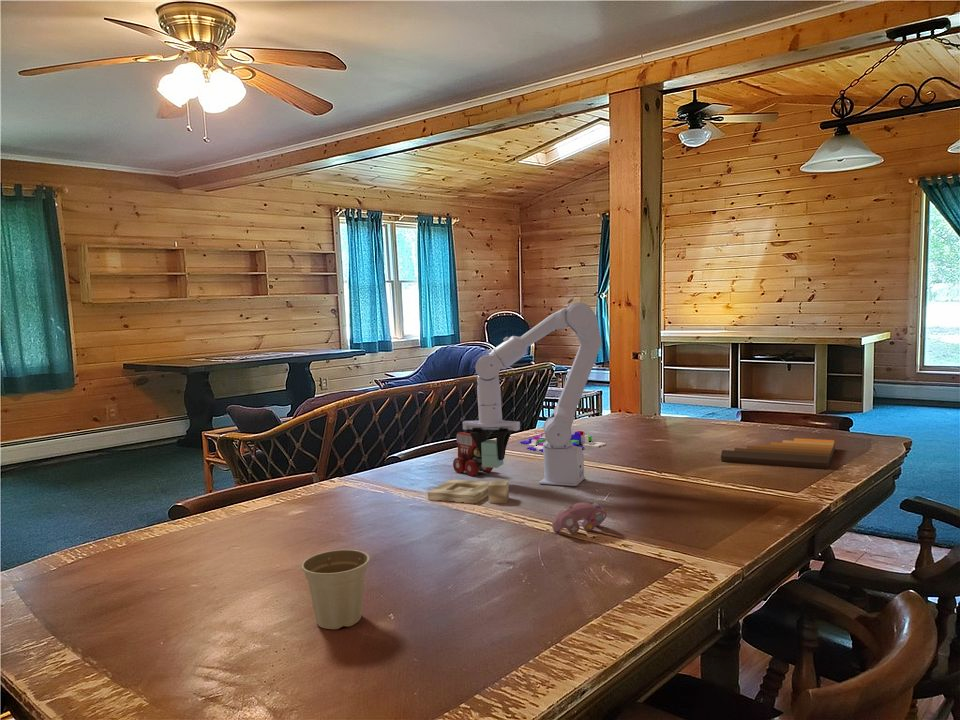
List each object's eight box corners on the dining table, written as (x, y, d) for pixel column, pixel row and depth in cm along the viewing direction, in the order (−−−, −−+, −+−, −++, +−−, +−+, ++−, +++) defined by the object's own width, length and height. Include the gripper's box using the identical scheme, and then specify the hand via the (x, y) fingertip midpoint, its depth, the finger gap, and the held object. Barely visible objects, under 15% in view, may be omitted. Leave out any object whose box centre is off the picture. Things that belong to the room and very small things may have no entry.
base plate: (496, 489, 162) (496, 482, 162) (475, 503, 151) (475, 495, 151) (451, 486, 167) (451, 479, 167) (428, 499, 156) (427, 492, 156)
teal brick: (503, 464, 168) (502, 440, 168) (497, 468, 165) (496, 443, 164) (488, 463, 170) (487, 439, 170) (481, 466, 166) (480, 442, 166)
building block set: (506, 449, 211) (505, 435, 211) (544, 438, 227) (544, 424, 226) (574, 457, 195) (574, 442, 195) (610, 444, 210) (610, 430, 210)
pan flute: (721, 464, 179) (827, 471, 166) (720, 451, 179) (827, 458, 166) (739, 445, 200) (834, 451, 187) (739, 434, 200) (834, 439, 187)
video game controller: (557, 544, 127) (562, 515, 124) (549, 526, 131) (553, 499, 128) (605, 536, 130) (612, 509, 127) (595, 520, 134) (601, 492, 130)
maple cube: (508, 498, 155) (508, 480, 154) (506, 503, 151) (505, 485, 150) (491, 498, 155) (490, 480, 155) (488, 503, 151) (487, 485, 151)
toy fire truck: (479, 478, 174) (477, 438, 173) (449, 471, 184) (447, 433, 183) (499, 473, 178) (497, 434, 178) (469, 466, 188) (467, 429, 187)
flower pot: (377, 603, 101) (373, 547, 100) (368, 633, 92) (364, 571, 91) (313, 607, 101) (309, 550, 100) (298, 638, 91) (294, 575, 91)
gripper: (523, 401, 167) (526, 456, 168) (470, 401, 173) (473, 454, 174) (512, 406, 161) (515, 462, 162) (457, 405, 167) (460, 460, 168)
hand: (492, 458), depth 167 cm, fingers closed on teal brick, 4 cm apart
